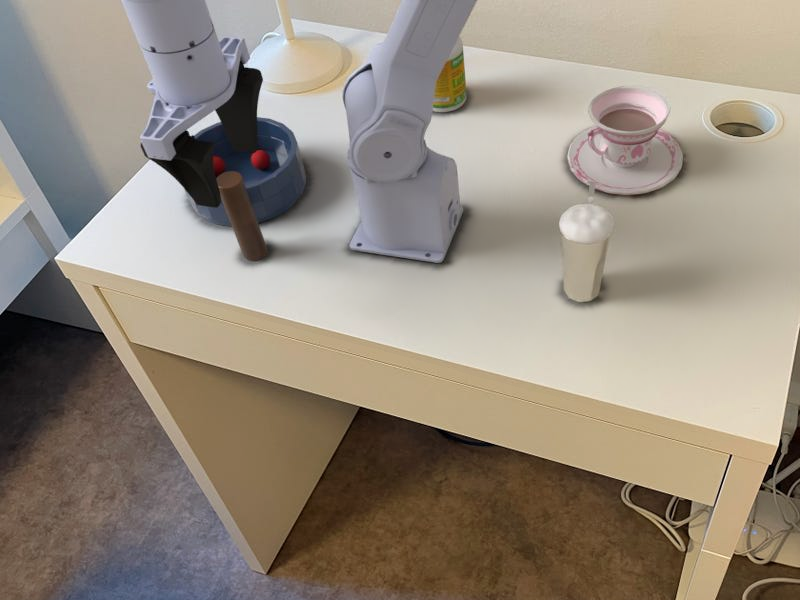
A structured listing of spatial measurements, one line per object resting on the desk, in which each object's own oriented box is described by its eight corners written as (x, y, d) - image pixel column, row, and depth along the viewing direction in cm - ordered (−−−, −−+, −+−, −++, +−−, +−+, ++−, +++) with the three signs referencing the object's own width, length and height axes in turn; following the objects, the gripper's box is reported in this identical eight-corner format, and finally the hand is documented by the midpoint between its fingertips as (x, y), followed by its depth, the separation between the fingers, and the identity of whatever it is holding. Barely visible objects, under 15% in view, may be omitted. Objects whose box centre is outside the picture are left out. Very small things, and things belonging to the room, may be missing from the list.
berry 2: (264, 174, 86) (277, 163, 87) (255, 158, 85) (268, 147, 86) (252, 172, 88) (265, 161, 88) (244, 156, 86) (257, 145, 87)
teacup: (632, 112, 91) (637, 62, 86) (706, 167, 85) (717, 116, 80) (544, 152, 88) (545, 102, 83) (615, 213, 81) (620, 162, 76)
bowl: (323, 158, 89) (314, 123, 85) (278, 233, 82) (266, 199, 78) (222, 145, 91) (209, 111, 88) (169, 217, 84) (154, 183, 81)
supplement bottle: (461, 115, 93) (454, 35, 85) (415, 112, 93) (404, 32, 86) (471, 88, 96) (465, 8, 88) (426, 85, 97) (417, 6, 89)
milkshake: (611, 269, 76) (619, 184, 68) (603, 311, 73) (611, 227, 65) (562, 263, 77) (566, 178, 69) (553, 304, 74) (555, 220, 66)
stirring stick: (271, 245, 81) (246, 172, 74) (261, 262, 79) (234, 189, 72) (249, 242, 81) (222, 169, 74) (239, 259, 80) (210, 186, 73)
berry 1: (209, 150, 86) (211, 156, 88) (201, 166, 85) (202, 172, 87) (228, 158, 86) (229, 165, 88) (219, 175, 86) (220, 181, 87)
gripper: (174, -18, 67) (223, 122, 78) (78, 81, 59) (148, 223, 69) (252, -11, 66) (291, 131, 77) (165, 91, 57) (223, 235, 68)
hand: (228, 175), depth 73 cm, fingers open, 7 cm apart
